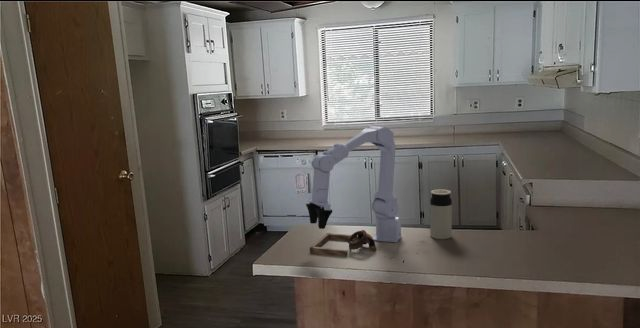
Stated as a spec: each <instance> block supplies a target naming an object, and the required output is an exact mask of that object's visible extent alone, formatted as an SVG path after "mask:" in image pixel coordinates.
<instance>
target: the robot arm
mask: <svg viewBox="0 0 640 328" xmlns="http://www.w3.org/2000/svg"><path fill="white" fill-rule="evenodd" d="M365 143H369V144H370V143H371V144H373V145H374V146H376V147H377V149H379V151H380V158H379V159H380V160H379V161H380V162H379V173H378V174H379V176H378V191H377V192H376V193H375V194H374V196H373V201H372V203H371V209H372V211H373V212H374V215H375V235H374V237H373V240H374V242H375V241H376V242H378V241H379V242H387V243H388V242H389V243H398V242H399V240H400V239H401V238H402V219H401V218H400V217H399V216H398V217H397V214H398V213H399V206H398V198H397V197H396V195H395V193H394V192H393V191H394V180H395V179H394V177H395V163H396V150H397V149H396V147H397V146H396V143H395V140H394V132H393V131H392V130H391V129H390V128H389V127H387V126H375V125H369V126H367V127H366V128H363V129H362V131H360V132H358V133H357V134H356V135H354V136H353V137H352V138H351V139H349V140H348V141H347V142H345V143H340V142H339V143H334V144H333V147H331V148H329V149H328V150H324V151H323V153H321V154H319V153H318V154H316V155H315V156H314V157H313V159H312V161H311V167H312V169H313V177H312V189H311V191H312V192H311V196H308V203H306V204H305V206H306V208H307V213H308V215H309V223H310V224H317V223H318V224H317V226H318V229H319V230H323V229H324V230H325V229H326V226H327V223H328V220H329V218H330V216H331V215H332V214H333V209H331V204H330V203H329V199H328V198H329V191H330V189H329V187H330V176H331V171H332V170H333V169H334V167H335V165H337V164H339V163H340V162H342V161H343V160H344V159H345V160H346V158H348V156H349V153H350V152H352V151H353V150H355V149H358V147H359V148H360V146H362V145H364V144H365Z"/></svg>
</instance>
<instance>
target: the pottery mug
mask: <svg viewBox="0 0 640 328" xmlns="http://www.w3.org/2000/svg"><path fill="white" fill-rule="evenodd" d="M350 235H351V236H350V237H349V241H347V243H348V250H349V251H354V250H358V249H364V245H367V244H368V247H369V248H373V249H374V252H377V250H378V249H377V246H376V242H375V240H373V239H374V237H373V236H372V235H370V234H369V233H367V231H366V230H364V229H362V230H357V231H355V232H353V233H352V234H350ZM356 236H358V238H359V239H360V240H359V241H357V242H356V241H352V240H353V239H354V238H355V237H356Z"/></svg>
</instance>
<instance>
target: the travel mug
mask: <svg viewBox="0 0 640 328" xmlns="http://www.w3.org/2000/svg"><path fill="white" fill-rule="evenodd" d="M451 193H452V191H451V190H448V189H444V188H443V189H442V188H441V189H440V188H439V189H433V190H431V191H430V194H431V197H430V200H429V201H430V202H429V205H430V206H429V207H430V208H429V210H430V211H429V212H430V213H429V214H430V215H429V216H430V217H429V218H430V219H429V220H430V223H429V225H430V228H429V229H430V231H429V232H430V234H429V235H430V237H432V238H433V239H436V240H448V239H450V238H452V236H453V235H452V230H453V229H452V228H453V227H452V221H453V219H452V218H453V217H452V214H453V213H452V212H453V211H452V208H453V207H452V200H453V199H452V198H451Z"/></svg>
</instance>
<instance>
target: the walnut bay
mask: <svg viewBox="0 0 640 328" xmlns="http://www.w3.org/2000/svg"><path fill="white" fill-rule="evenodd" d="M351 235H352V234H342V233H331V232H327V233H326V234H324V235H323V236H322V237H321V238H319V239H318V240H317V241H315V242H314V243H313V244H312V245H311V246H310V247H309V253H311V254H319V255H327V256H337V257H348V256H349V255H348V253H349V252H348V250H349V249H339V248H330V247H322V246H323V245H324V244H326V243H327V242H328V241H329V240H336V241H337V240H338V241H346V242H348V241H349V237H350V236H351ZM359 240H360V239H359V238H358V235H357V236H356V237H355V238H354V239H353V240H352V241H351V242H357V241H359Z"/></svg>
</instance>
